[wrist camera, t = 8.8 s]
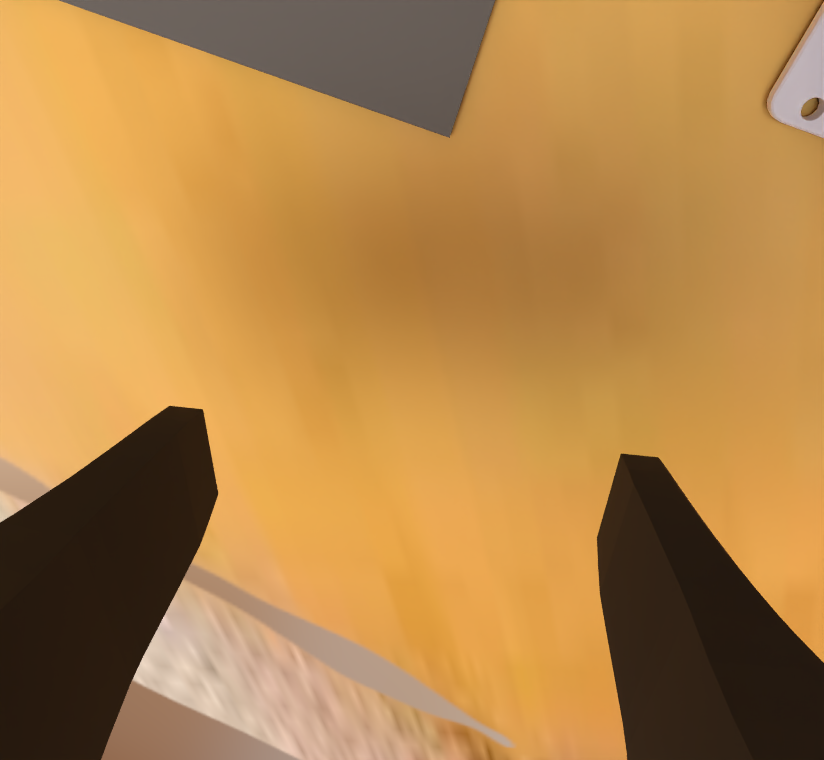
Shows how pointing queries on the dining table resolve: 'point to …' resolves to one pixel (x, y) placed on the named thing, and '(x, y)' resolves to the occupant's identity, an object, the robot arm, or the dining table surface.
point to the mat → (334, 45)
